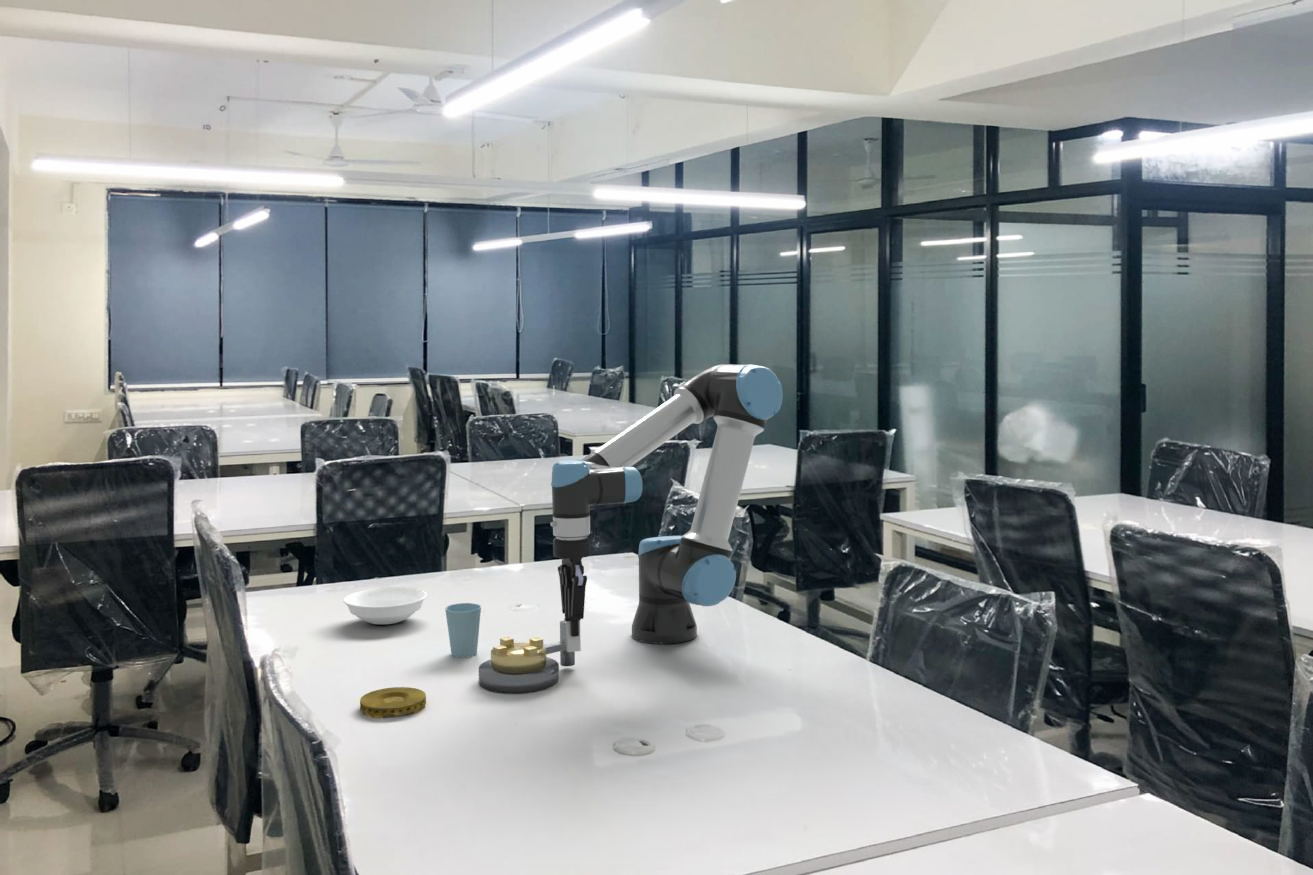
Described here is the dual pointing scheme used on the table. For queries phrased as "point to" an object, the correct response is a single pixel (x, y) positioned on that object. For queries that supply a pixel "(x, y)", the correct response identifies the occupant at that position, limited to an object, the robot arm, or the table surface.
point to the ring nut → (529, 654)
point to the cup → (463, 628)
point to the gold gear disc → (393, 702)
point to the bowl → (385, 604)
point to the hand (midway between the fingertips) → (573, 650)
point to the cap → (519, 679)
